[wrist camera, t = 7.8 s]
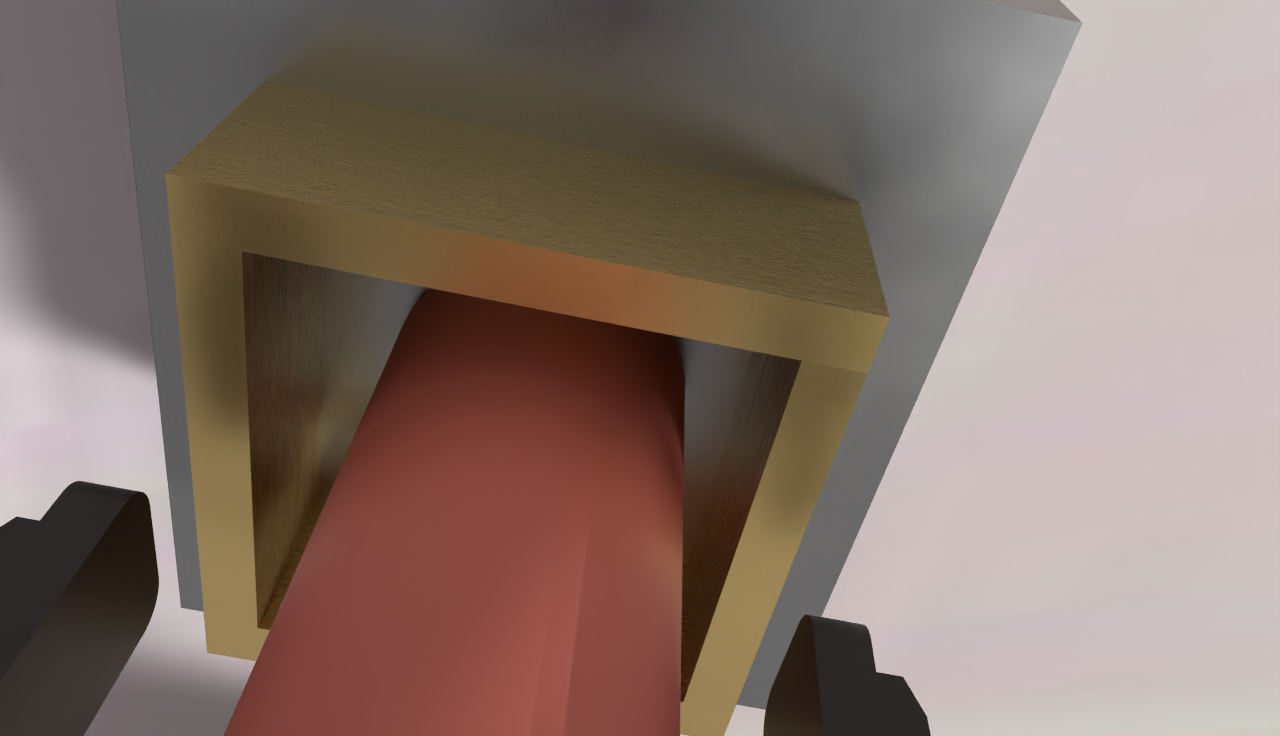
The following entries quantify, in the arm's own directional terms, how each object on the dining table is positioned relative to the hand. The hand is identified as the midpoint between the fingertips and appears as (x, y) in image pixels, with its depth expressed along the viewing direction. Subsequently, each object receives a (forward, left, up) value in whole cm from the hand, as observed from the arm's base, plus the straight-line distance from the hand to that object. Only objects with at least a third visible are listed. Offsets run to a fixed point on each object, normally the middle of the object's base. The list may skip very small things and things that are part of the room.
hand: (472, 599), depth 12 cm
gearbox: (+1, 0, -11) cm, 11 cm away
